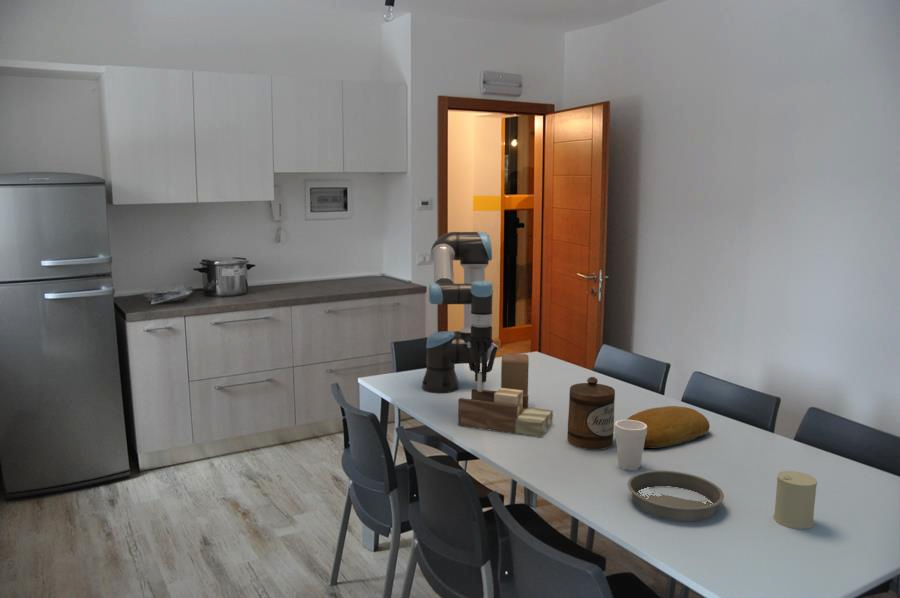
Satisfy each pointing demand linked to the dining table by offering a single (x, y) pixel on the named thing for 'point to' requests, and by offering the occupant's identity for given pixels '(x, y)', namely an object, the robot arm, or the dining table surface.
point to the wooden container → (591, 415)
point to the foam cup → (630, 442)
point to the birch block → (510, 397)
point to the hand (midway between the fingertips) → (480, 390)
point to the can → (795, 499)
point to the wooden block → (515, 372)
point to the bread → (671, 425)
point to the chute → (502, 415)
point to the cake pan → (672, 505)
